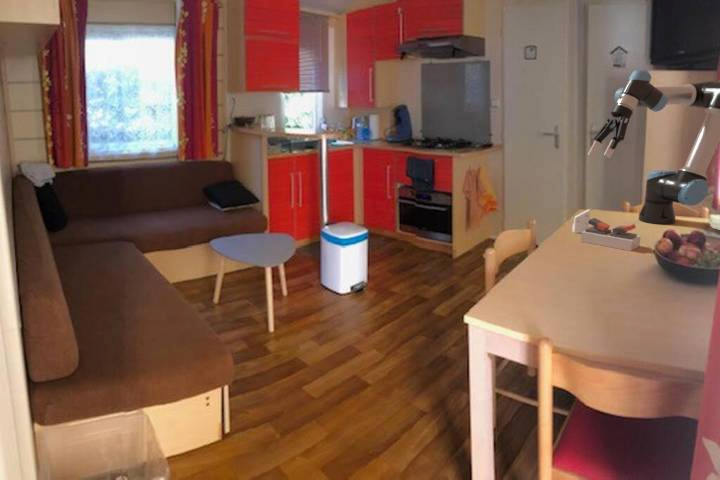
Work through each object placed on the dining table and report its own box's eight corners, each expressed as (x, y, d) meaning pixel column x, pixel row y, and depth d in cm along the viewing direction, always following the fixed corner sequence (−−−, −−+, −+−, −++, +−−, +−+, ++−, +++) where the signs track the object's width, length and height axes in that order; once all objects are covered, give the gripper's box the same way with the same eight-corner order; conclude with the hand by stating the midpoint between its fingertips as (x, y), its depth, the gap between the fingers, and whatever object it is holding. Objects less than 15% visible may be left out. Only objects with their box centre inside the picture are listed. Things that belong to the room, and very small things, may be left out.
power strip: (590, 237, 252) (591, 225, 251) (639, 245, 239) (640, 233, 237) (580, 241, 246) (581, 229, 245) (630, 250, 233) (631, 238, 231)
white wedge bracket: (599, 227, 258) (590, 210, 256) (577, 238, 260) (568, 221, 258) (596, 225, 261) (587, 208, 260) (575, 236, 263) (566, 219, 262)
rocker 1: (592, 222, 248) (594, 217, 247) (607, 230, 244) (610, 225, 243) (587, 224, 245) (589, 219, 244) (602, 232, 241) (605, 227, 240)
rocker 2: (618, 232, 241) (617, 226, 241) (636, 229, 236) (634, 224, 236) (613, 234, 238) (612, 228, 238) (631, 232, 233) (630, 226, 233)
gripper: (601, 106, 252) (577, 152, 254) (633, 101, 228) (606, 151, 229) (616, 114, 253) (592, 160, 255) (649, 110, 229) (622, 160, 230)
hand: (598, 156), depth 242 cm, fingers open, 13 cm apart
